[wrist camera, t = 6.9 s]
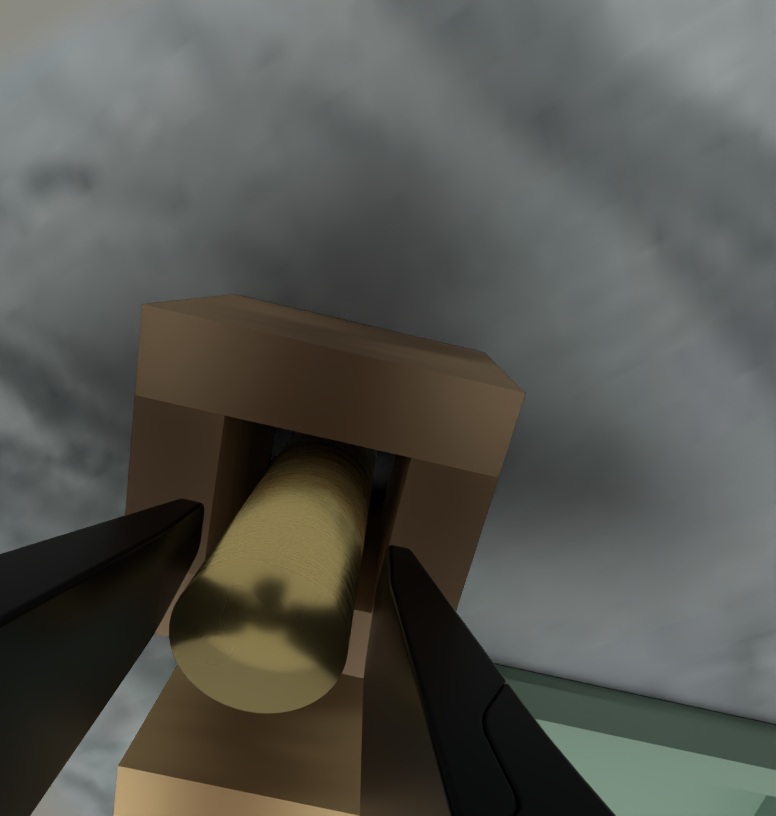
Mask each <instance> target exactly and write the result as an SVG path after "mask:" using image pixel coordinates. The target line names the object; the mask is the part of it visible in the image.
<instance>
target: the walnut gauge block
mask: <svg viewBox="0 0 776 816" xmlns="http://www.w3.org/2000/svg"><path fill="white" fill-rule="evenodd" d="M524 396H525V392H524V391H523V390H522V389H521V388H520V387H519V386H518V385H517V384H516V383H515V382H514V381H513V380H512V379H511V378H510V377H509V376H508V375H507V374H506V373H505V372H504V371H503V370H502V369H501V368H500V367H499V366H498V365H497V364H496V363H495V362H494V361H492V360H491V359H490V358H489V357H488V356H487V355H486V354H485V353H484V352H479V351H475V350H471V349H466V348H462V347H458V346H454V345H449V344H445V343H441V342H437V341H432V340H428V339H424V338H419V337H415V336H411V335H407V334H402V333H398V332H394V331H389V330H385V329H381V328H377V327H372V326H368V325H364V324H359V323H355V322H351V321H347V320H342V319H338V318H334V317H329V316H325V315H321V314H317V313H312V312H308V311H304V310H299V309H295V308H291V307H287V306H282V305H278V304H274V303H270V302H265V301H261V300H257V299H252V298H248V297H244V296H240V295H235V294H231V295H222V296H212V297H203V298H194V299H185V300H176V301H166V302H157V303H148V304H142V311H141V323H140V336H139V349H138V361H137V374H136V386H135V399H134V411H133V424H132V437H131V449H130V462H129V474H128V487H127V500H126V512H125V515H129V514H132V513H135V512H138V511H142V510H145V509H148V508H151V507H155V506H158V505H161V504H164V503H168V502H171V501H174V500H177V499H188V500H192V501H197V502H200V503H202V504H203V505H204V510H205V511H204V520H203V527H202V535H201V543H200V547H199V550H198V553H197V556H196V558H195V560H194V562H193V563H192V565H191V567H190V569H189V571H188V573H187V575H186V577H185V578H184V580H183V582H182V584H181V586H180V588H179V590H178V591H177V593H176V595H175V597H174V599H173V601H172V603H171V605H170V606H169V608H168V610H167V612H166V614H165V616H164V618H163V620H162V621H161V623H160V625H159V627H158V628H157V630H156V632H155V633H154V634H158V635H163V636H168V637H169V622H170V617H171V613H172V611H173V608H174V605H175V604H176V602H177V600H178V598H179V597H180V595H181V594H182V592H183V591H184V590H185V588H186V587H187V585H188V584H189V582H190V581H191V579H192V578H193V577H194V575H195V574H196V572H197V571H198V569H199V568H200V567H201V565H202V564H203V562H204V561H205V559H206V558H207V556H208V555H209V554H210V552H211V551H212V549H213V548H214V546H215V545H216V544H217V542H218V541H219V539H220V538H221V536H222V535H223V533H224V532H225V531H226V529H227V528H228V526H229V525H230V523H231V522H232V521H233V519H234V518H235V516H236V515H237V513H238V512H239V510H240V509H241V508H242V506H243V505H244V503H245V502H246V500H247V499H248V498H249V496H250V495H251V493H252V492H253V490H254V489H255V487H256V486H257V485H258V483H259V482H260V480H261V479H262V477H263V476H264V474H265V473H266V472H267V470H268V468H269V462H270V456H271V450H272V444H273V438H274V432H275V427H278V428H282V429H287V430H291V431H296V432H300V433H304V434H309V435H313V436H318V437H322V438H326V439H331V440H335V441H340V442H344V443H348V444H353V445H357V446H362V447H366V448H371V449H375V450H379V451H384V452H388V453H393V454H396V455H395V459H394V463H393V467H392V471H391V475H390V479H389V483H388V487H387V491H386V495H385V499H384V503H383V507H382V509H381V508H376V507H372V506H369V512H368V519H367V526H366V533H365V539H364V546H363V553H362V560H361V567H360V573H359V580H358V587H357V594H356V601H355V607H354V614H353V621H352V628H351V635H350V641H349V648H348V655H347V661H346V664H345V667H344V670H343V672H342V674H345V675H350V676H355V677H359V678H364V670H365V661H366V654H367V647H368V641H369V634H370V627H371V620H372V614H373V607H374V600H375V594H376V588H377V584H378V580H379V576H380V572H381V568H382V564H383V560H384V557H385V553H386V549H387V547H388V546H389V545H396V546H400V547H405V548H408V549H410V550H411V551H412V552H413V553H414V555H415V556H416V557H417V559H418V560H419V562H420V563H421V564H422V566H423V567H424V568H425V570H426V571H427V573H428V574H429V575H430V577H431V578H432V579H433V581H434V582H435V583H436V585H437V586H438V588H439V589H440V590H441V592H442V593H443V594H444V596H445V597H446V599H447V600H448V601H449V603H450V604H451V605H452V607H453V608H454V610H455V611H456V610H457V606H458V603H459V600H460V597H461V594H462V591H463V588H464V585H465V581H466V578H467V575H468V572H469V569H470V566H471V563H472V559H473V556H474V553H475V550H476V547H477V544H478V541H479V538H480V534H481V531H482V528H483V525H484V522H485V519H486V516H487V512H488V509H489V506H490V503H491V500H492V497H493V494H494V491H495V487H496V484H497V481H498V478H499V475H500V472H501V469H502V465H503V462H504V459H505V456H506V453H507V450H508V447H509V443H510V440H511V437H512V434H513V431H514V428H515V425H516V422H517V418H518V415H519V412H520V409H521V406H522V403H523V400H524Z"/></svg>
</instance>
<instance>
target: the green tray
mask: <svg viewBox="0 0 776 816" xmlns="http://www.w3.org/2000/svg"><path fill="white" fill-rule="evenodd" d="M495 666H496V667H497V668H498V670H499V671H500V673H501V674H502V675H503V677H504V678H505V680H506V684H509V685H510V686H511V687H512V689H513V690H514V691H515V693H516V694H517V696H518V697H519V698H520V700H521V701H522V702H523V704H524V705H525V706H526V708H527V709H528V710H529V712H530V713H531V714H532V715H533V717H534V718H535V719H536V721H537V722H538V723H539V725H540V726H541V727H542V729H543V730H544V731H545V732H546V734H547V735H548V736H549V737H550V739H551V740H552V741H553V742H554V743H555V745H556V746H557V747H558V748H559V749H560V751H561V752H562V753H563V754H564V755H565V757H566V758H567V759H568V760H569V761H570V763H571V764H572V765H573V766H574V767H575V769H576V770H577V771H578V772H579V773H580V775H581V776H582V777H583V778H584V779H585V780H586V781H587V783H588V784H589V785H590V786H591V787H592V788H593V790H594V791H595V792H596V793H597V794H598V795H599V796H600V798H601V799H602V800H603V801H604V802H605V803H606V805H607V806H608V807H609V808H610V809H611V810H612V811H613V813H614V814H615V815H616V816H776V725H773V724H768V723H764V722H759V721H754V720H750V719H745V718H741V717H736V716H731V715H727V714H722V713H717V712H713V711H708V710H704V709H699V708H694V707H690V706H685V705H680V704H676V703H671V702H667V701H662V700H657V699H653V698H648V697H643V696H639V695H634V694H630V693H625V692H620V691H616V690H611V689H606V688H602V687H597V686H593V685H588V684H583V683H579V682H574V681H569V680H565V679H560V678H556V677H551V676H546V675H542V674H537V673H532V672H528V671H523V670H519V669H514V668H509V667H505V666H500V665H495Z"/></svg>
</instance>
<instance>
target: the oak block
mask: <svg viewBox="0 0 776 816" xmlns="http://www.w3.org/2000/svg"><path fill="white" fill-rule="evenodd" d="M363 682H364V678H359V677H355V676H350V675H345V674H341V676H340V678H339V679H338V681H337V682H336V683H335V685H334V686H333V687H332V688H331V689H330V690H329V691H328V692H327V693H326V694H325V695H323V696H322V697H321V698H319V699H318V700H316V701H314V702H313V703H311V704H309V705H307V706H304V707H302V708H299V709H295V710H292V711H287V712H281V713H254V712H248V711H243V710H239V709H235V708H233V707H230V706H227V705H224V704H222V703H220V702H218V701H216V700H214V699H213V698H211V697H209V696H208V695H206V694H205V693H203V692H202V691H201V690H200V689H198V688H197V687H196V686H195V685H194V684H193V683H192V682H191V681H190V680H189V679H188V678H187V677H186V675H185V674H184V673H183V672H182V670H181V668H180V667H179V665H177V666H176V668H175V670H174V672H173V673H172V675H171V677H170V678H169V680H168V682H167V683H166V685H165V687H164V689H163V690H162V692H161V694H160V695H159V697H158V699H157V700H156V702H155V704H154V706H153V707H152V709H151V711H150V712H149V714H148V716H147V718H146V719H145V721H144V723H143V724H142V726H141V728H140V729H139V731H138V733H137V735H136V736H135V738H134V740H133V741H132V743H131V745H130V746H129V748H128V750H127V752H126V753H125V755H124V757H123V758H122V760H121V762H120V763H119V765H118V772H117V784H116V795H115V806H114V816H360V786H361V748H362V711H363Z"/></svg>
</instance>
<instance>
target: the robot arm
mask: <svg viewBox="0 0 776 816" xmlns="http://www.w3.org/2000/svg"><path fill="white" fill-rule="evenodd" d="M204 511H205V510H204V505H203V504H202V503H200V502H197V501H192V500H188V499H177V500H174V501H171V502H168V503H164V504H161V505H158V506H155V507H151V508H148V509H145V510H142V511H138V512H135V513H132V514H129V515H125V516H122V517H119V518H116V519H112V520H109V521H106V522H103V523H99V524H96V525H93V526H90V527H86V528H83V529H80V530H77V531H74V532H70V533H67V534H64V535H61V536H57V537H54V538H51V539H48V540H44V541H41V542H38V543H35V544H31V545H28V546H25V547H22V548H18V549H15V550H12V551H9V552H5V553H2V554H0V816H30V815H31V814H32V812H33V811H34V809H35V808H36V806H37V805H38V803H39V802H40V801H41V799H42V798H43V796H44V795H45V793H46V792H47V790H48V789H49V787H50V786H51V784H52V783H53V782H54V780H55V779H56V777H57V776H58V774H59V773H60V771H61V770H62V768H63V767H64V765H65V764H66V763H67V761H68V760H69V758H70V757H71V755H72V754H73V752H74V751H75V749H76V748H77V746H78V745H79V744H80V742H81V741H82V739H83V738H84V736H85V735H86V733H87V732H88V730H89V729H90V728H91V726H92V725H93V723H94V722H95V720H96V719H97V717H98V716H99V714H100V713H101V711H102V710H103V709H104V707H105V706H106V704H107V703H108V701H109V700H110V698H111V697H112V695H113V694H114V692H115V691H116V690H117V688H118V687H119V685H120V684H121V682H122V681H123V679H124V678H125V676H126V675H127V673H128V672H129V671H130V669H131V668H132V666H133V665H134V663H135V662H136V660H137V659H138V657H139V656H140V654H141V653H142V652H143V650H144V649H145V647H146V646H147V644H148V643H149V641H150V640H151V638H152V636H153V635H154V633H155V632H156V630H157V628H158V627H159V625H160V623H161V621H162V620H163V618H164V616H165V614H166V612H167V610H168V608H169V606H170V605H171V603H172V601H173V599H174V597H175V595H176V593H177V591H178V590H179V588H180V586H181V584H182V582H183V580H184V578H185V577H186V575H187V573H188V571H189V569H190V567H191V565H192V563H193V562H194V560H195V558H196V556H197V553H198V550H199V547H200V543H201V535H202V527H203V520H204ZM360 816H616V815H615V814H614V813H613V811H612V810H611V809H610V808H609V807H608V806H607V805H606V803H605V802H604V801H603V800H602V799H601V798H600V796H599V795H598V794H597V793H596V792H595V791H594V790H593V788H592V787H591V786H590V785H589V784H588V783H587V781H586V780H585V779H584V778H583V777H582V776H581V775H580V773H579V772H578V771H577V770H576V769H575V767H574V766H573V765H572V764H571V763H570V761H569V760H568V759H567V758H566V757H565V755H564V754H563V753H562V752H561V751H560V749H559V748H558V747H557V746H556V745H555V743H554V742H553V741H552V740H551V739H550V737H549V736H548V735H547V734H546V732H545V731H544V730H543V729H542V727H541V726H540V725H539V723H538V722H537V721H536V719H535V718H534V717H533V715H532V714H531V713H530V712H529V710H528V709H527V708H526V706H525V705H524V704H523V702H522V701H521V700H520V698H519V697H518V696H517V694H516V693H515V691H514V690H513V689H512V687H511V686H510V685H509V684H506V680H505V678H504V677H503V675H502V674H501V673H500V671H499V670H498V668H497V667H496V666H495V664H494V663H493V662H492V660H491V659H490V657H489V656H488V655H487V653H486V652H485V651H484V649H483V648H482V647H481V645H480V644H479V642H478V641H477V640H476V638H475V637H474V636H473V634H472V633H471V631H470V630H469V629H468V627H467V626H466V625H465V623H464V622H463V620H462V619H461V618H460V616H459V615H458V614H457V612H456V611H455V610H454V608H453V607H452V605H451V604H450V603H449V601H448V600H447V599H446V597H445V596H444V594H443V593H442V592H441V590H440V589H439V588H438V586H437V585H436V583H435V582H434V581H433V579H432V578H431V577H430V575H429V574H428V573H427V571H426V570H425V568H424V567H423V566H422V564H421V563H420V562H419V560H418V559H417V557H416V556H415V555H414V553H413V552H412V551H411V550H410V549H408V548H405V547H400V546H396V545H389V546H388V547H387V549H386V553H385V557H384V560H383V564H382V568H381V572H380V576H379V580H378V584H377V588H376V594H375V600H374V607H373V614H372V620H371V627H370V634H369V641H368V647H367V654H366V661H365V670H364V682H363V711H362V748H361V786H360Z"/></svg>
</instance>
